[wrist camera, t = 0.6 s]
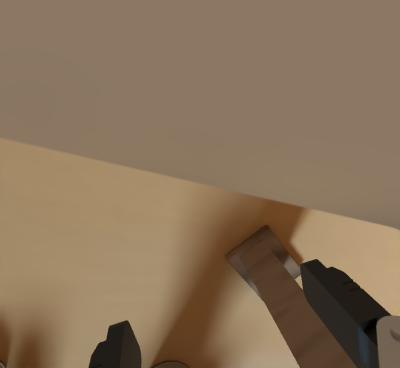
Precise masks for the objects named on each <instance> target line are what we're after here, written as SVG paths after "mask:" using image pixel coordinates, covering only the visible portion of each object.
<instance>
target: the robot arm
mask: <svg viewBox="0 0 400 368" xmlns="http://www.w3.org/2000/svg"><path fill="white" fill-rule="evenodd" d="M300 271H301V278H302V285H303V292H304V295H305V297H306V300H307V301H308V303H309V305H310V306H311V307H312V309H313V310H314V311H315V313H316V314H317V315H318V317H319V318H320V319H321V321H322V322H323V323H324V325H325V326H326V327H327V328H328V330H329V331H330V332H331V334H332V335H333V336H334V338H335V339H336V340H337V342H338V343H339V344H340V346H341V347H342V348H343V350H344V351H345V352H346V354H347V355H348V356H349V357H350V359H351V360H352V361H353V363H354V364H355V365H356V367H357V368H400V316H392V315H391V314H390V313H388V312H387V311H386V310H385V309H384V308H383V307H382V306H381V305H380V304H379V303H377V302H376V301H375V300H374V299H373V298H372V297H371V296H370V295H369V294H368V293H366V292H365V291H364V290H363V289H361V288H360V286H359V285H358V284H357V283H355V282H353V280H352V279H351V278H350V277H349V276H348V275H347V274H346V273H344V272H343V271H341V270H338V269H336V268H334V267H329V268H326V267H325V266H324V265H323V264H322V263H321V262H320V261H319V260H317V259H315V260H312V261H308V262H305V263H302V264H300ZM89 368H141V352H140V347H139V344H138V342H137V340H136V337H135V335H134V333H133V330H132V328H131V326H130V323H129V322H128V321H127V320H126V321H123V322H120V323H117V324H114V325H110V326H109V329H108V334H107V339H106V341H103V342H100V343H99V344H98V345H97V347H96V349H95V351H94V352H93V354H92V356H91V360H90V364H89ZM154 368H188V367H187V366H186V365H184V364H182V363H179V362H165V363H161V364H159V365H157V366H155V367H154Z"/></svg>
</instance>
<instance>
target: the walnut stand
mask: <svg viewBox="0 0 400 368" xmlns="http://www.w3.org/2000/svg"><path fill="white" fill-rule="evenodd" d="M225 257H226V259H227V261H228V262H229V263H230V264H231V265H232V266H233V268H234V269H235V270H236V271H237V272H238V273H239V274H240V275H241V277H242V278H243V279H244V280H245V281H246V282H247V283H248V284H249V286H250V287H251V288H252V289H253V290H254V291H255V292H256V293H257V295H258V296H259V297H260V298H261V299H262V300H263V301H264V302H265V304H266V306H267V308H268V310H269V312H270V313H271V315H272V317H273V319H274V321H275V323H276V324H277V326H278V328H279V330H280V332H281V334H282V335H283V337H284V339H285V341H286V343H287V345H288V346H289V348H290V350H291V352H292V354H293V356H294V357H295V359H296V361H297V363H298V365H299V367H300V368H357V367H356V365H355V364H354V363H353V361H352V360H351V359H350V357H349V356H348V355H347V354H346V352H345V351H344V350H343V348H342V347H341V346H340V344H339V343H338V342H337V340H336V339H335V338H334V336H333V335H332V334H331V332H330V331H329V330H328V328H327V327H326V326H325V325H324V323H323V322H322V321H321V319H320V318H319V317H318V315H317V314H316V313H315V311H314V310H313V309H312V307H311V306H310V305H309V303H308V301H307V300H306V297H305V295H304V292H303V290H302V289H301V287H300V286H299V285H298V283H297V282H296V281H295V280H294V279H296V278H297V277H298V276H300V275H301V271H300V268H299V267H298V265H297V264H296V263H295V261H294V260H293V259H292V257H291V256H290V255H289V253H288V252H287V251H286V249H285V248H284V247H283V245H282V244H281V243H280V242H279V240H278V239H277V238H276V236H275V235H274V234H273V232H272V231H271V230H270V228H269V227H268V226H267V225H265V226H264V227H263V228H261V229H260V230H259V231H257V232H256V233H255V234H253V235H252V236H251V237H249V238H248V239H247V240H245V241H244V242H243V243H241V244H240V245H239V246H238V247H236V248H235V249H234V250H232V251H231V252H230V253H228V254H227V255H226V256H225Z"/></svg>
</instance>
